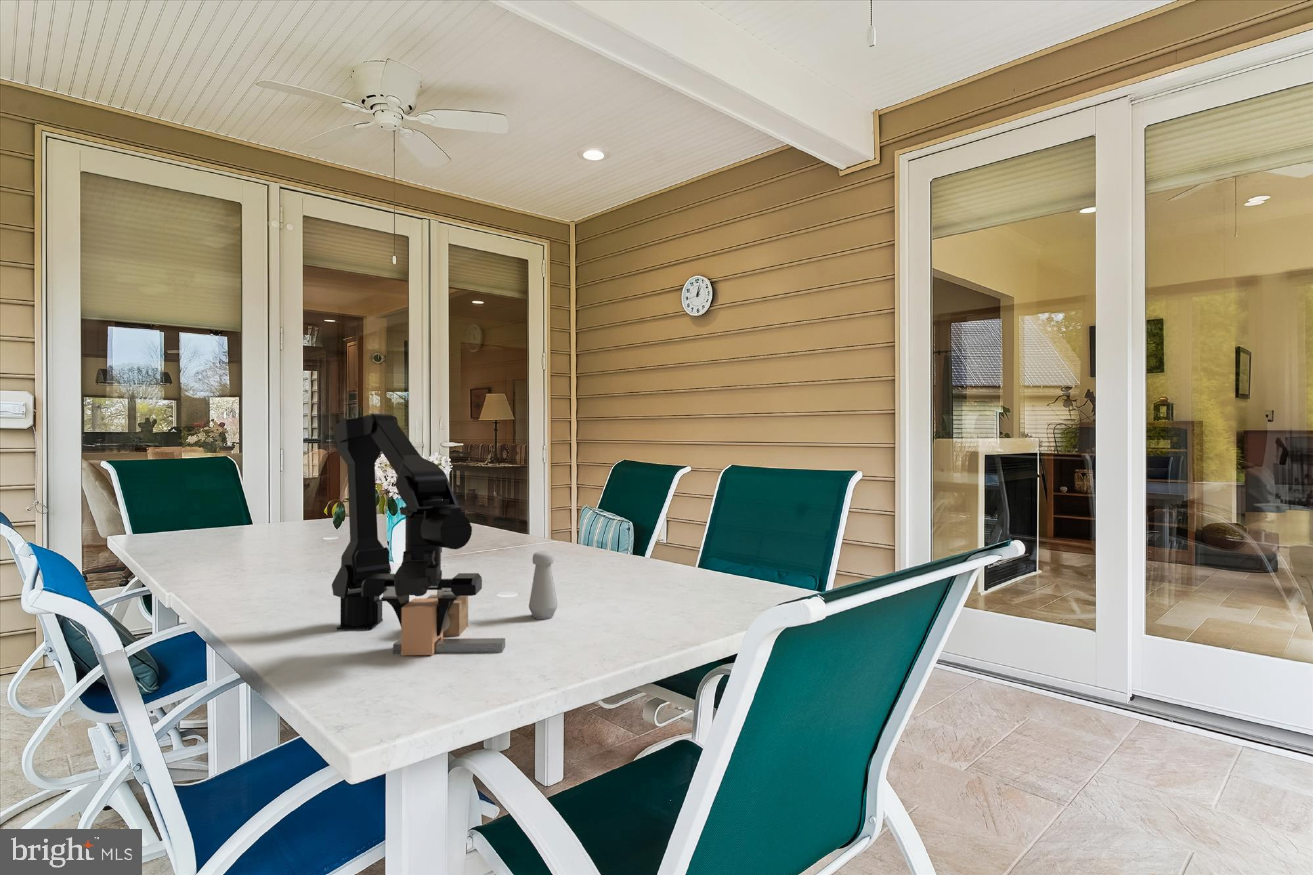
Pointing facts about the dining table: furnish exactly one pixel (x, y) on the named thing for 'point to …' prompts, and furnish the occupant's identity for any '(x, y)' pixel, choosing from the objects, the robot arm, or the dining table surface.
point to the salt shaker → (543, 587)
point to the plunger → (439, 593)
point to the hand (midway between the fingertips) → (422, 635)
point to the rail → (463, 645)
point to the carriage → (419, 626)
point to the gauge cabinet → (456, 617)
